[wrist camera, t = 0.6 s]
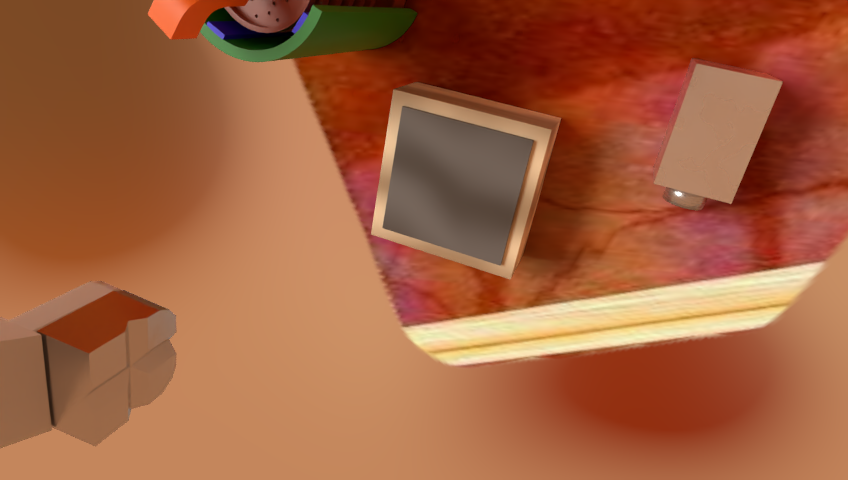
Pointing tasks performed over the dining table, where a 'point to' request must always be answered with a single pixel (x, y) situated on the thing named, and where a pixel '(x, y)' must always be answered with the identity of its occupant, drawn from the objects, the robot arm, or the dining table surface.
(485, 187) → the stand
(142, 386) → the robot arm
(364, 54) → the dining table surface
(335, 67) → the dining table surface
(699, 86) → the block
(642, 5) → the dining table surface
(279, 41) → the motor
